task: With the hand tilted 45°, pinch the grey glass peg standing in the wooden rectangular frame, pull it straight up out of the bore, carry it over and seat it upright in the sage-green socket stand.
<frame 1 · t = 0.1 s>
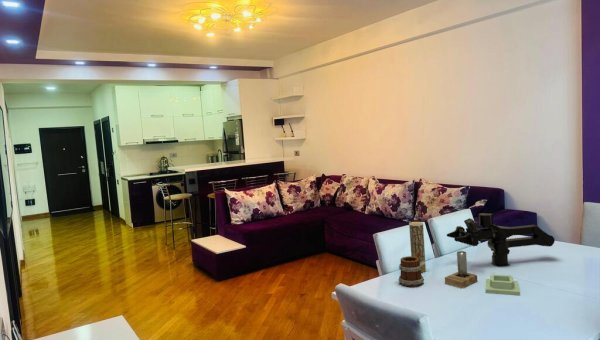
hand: (450, 237, 208), 17 cm above the table, tool horizontal, fingers open, 9 cm apart
mug: (412, 282, 196), on the table
socket stand: (502, 288, 180), on the table
grey glass peg: (462, 267, 190), in the wooden rectangular frame
bark textured cylinder: (419, 271, 210), on the table
wooden rectangular frame: (463, 281, 191), on the table
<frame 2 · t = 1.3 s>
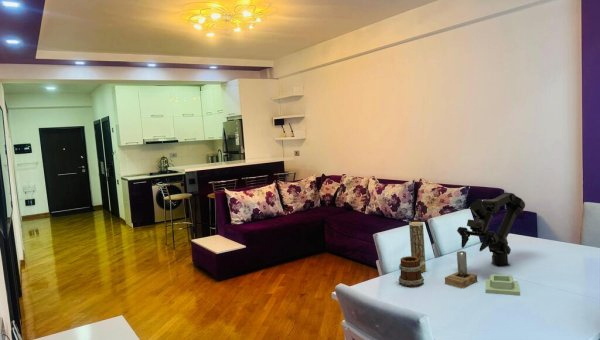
hand: (470, 249, 194), 14 cm above the table, tool tilted 45°, fingers open, 9 cm apart
nothing on the table moved.
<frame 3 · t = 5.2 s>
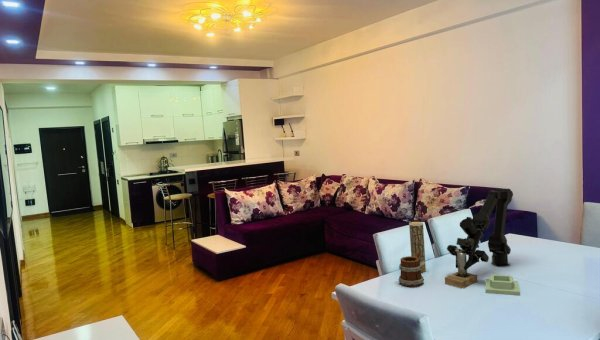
hand: (460, 268, 190), 7 cm above the table, tool tilted 45°, fingers closed on grey glass peg, 4 cm apart
grey glass peg: (462, 267, 190), in the wooden rectangular frame, touching gripper
everything else where it was.
when the fingers open (9 cm above the table, at t = 9.9 s): grey glass peg drops 1 cm, resting on socket stand.
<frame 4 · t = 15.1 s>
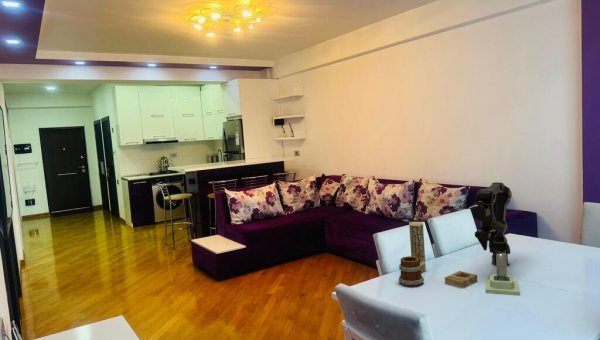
hand: (488, 247, 197), 13 cm above the table, tool pointing down, fingers open, 9 cm apart
grey glass peg: (501, 269, 179), in the socket stand, point 8 cm above the table
everything else where it was.
at the end: grey glass peg 0.1 cm off-centre on the socket stand, point 8.5 cm above the socket stand's base; grey glass peg tilted 1°; the gripper is holding nothing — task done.
